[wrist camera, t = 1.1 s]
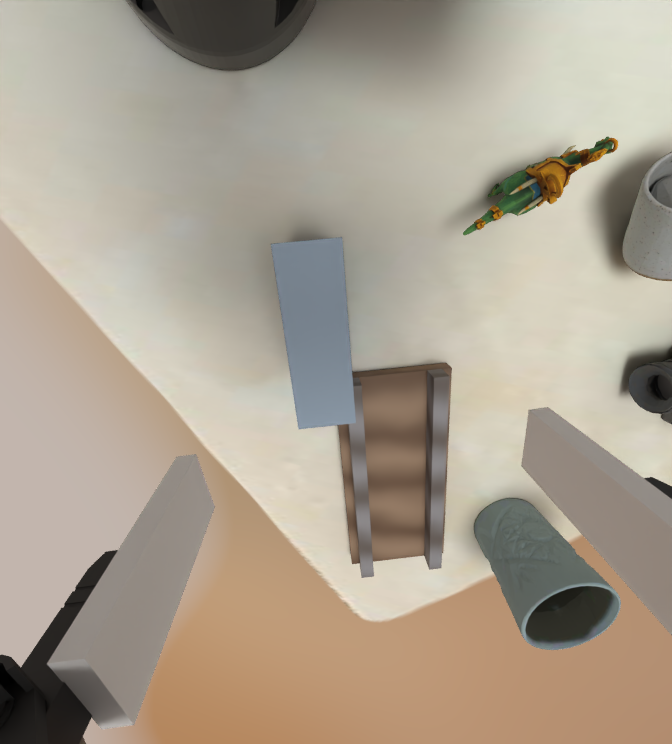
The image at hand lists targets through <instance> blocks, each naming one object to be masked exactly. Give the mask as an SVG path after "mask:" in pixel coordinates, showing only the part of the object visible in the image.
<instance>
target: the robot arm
mask: <svg viewBox="0 0 672 744" xmlns="http://www.w3.org/2000/svg"><path fill="white" fill-rule="evenodd" d="M126 1H127V2H128V4H129V5H130V6H131V8H132V9H133V10H134V12H135V13H136V14H137V16H138V17H139V18H140V19H141V21H142V22H143V23H144V24H145V25H146V26H147V27H148V29H149V30H150V31H151V32H152V33H153V34H154V35H155V36H156V37H157V38H158V39H160V40H161V41H162V42H163V43H164V44H166V45H167V46H168V47H169V48H171V49H172V50H174V51H175V52H177V53H178V54H180V55H181V56H183V57H185V58H187V59H189V60H191V61H193V62H196V63H198V64H201V65H204V66H207V67H211V68H216V69H225V70H236V69H244V68H249V67H253V66H256V65H259V64H261V63H263V62H265V61H267V60H269V59H271V58H273V57H274V56H275V55H277V54H278V53H280V52H281V51H282V50H283V49H285V48H286V47H287V46H288V45H289V44H290V43H291V42H292V40H293V39H294V38H295V37H296V36H297V34H298V33H299V32H300V30H301V29H302V27H303V26H304V24H305V23H306V21H307V19H308V17H309V15H310V14H311V11H312V9H313V7H314V5H315V2H316V0H126ZM521 466H522V467H523V468H524V470H525V471H526V472H527V473H528V474H529V475H530V476H531V477H532V479H533V480H534V481H535V482H536V483H537V484H538V485H539V486H540V488H541V489H542V490H543V491H544V492H545V493H546V494H547V495H548V497H549V498H550V499H551V500H552V501H553V502H554V503H555V504H556V506H557V507H558V508H559V509H560V510H561V511H562V512H563V513H564V515H565V516H566V517H567V518H568V519H569V520H570V521H571V522H572V524H573V525H574V526H575V527H576V528H577V529H578V530H579V531H580V533H581V534H582V535H583V536H584V537H585V538H586V539H587V540H588V541H589V543H590V544H591V545H592V546H593V547H594V548H595V549H596V551H597V552H598V553H599V554H600V555H601V556H602V557H603V558H604V560H605V561H606V562H607V563H608V564H609V565H610V566H611V567H612V568H613V570H614V571H615V572H616V573H617V574H618V575H619V576H620V578H621V579H622V580H623V581H624V582H625V583H626V584H627V585H628V586H629V588H630V589H631V590H632V591H633V592H634V593H635V594H636V595H637V597H638V598H639V599H640V600H641V601H642V602H643V603H644V605H645V606H646V607H647V608H648V609H649V610H650V611H651V612H652V614H653V615H654V616H655V617H656V618H657V619H658V620H659V621H660V623H661V624H662V625H663V626H664V627H665V628H666V629H667V630H668V632H669V633H670V634H671V635H672V486H670V485H667V484H665V483H663V482H661V481H659V480H657V479H655V478H653V477H650V478H643V477H641V476H640V475H639V474H637V473H636V472H634V471H633V470H632V469H630V468H629V467H628V466H626V465H625V464H624V463H622V462H621V461H620V460H618V459H617V458H616V457H614V456H613V455H612V454H610V453H609V452H608V451H606V450H605V449H604V448H602V447H601V446H599V445H598V444H597V443H595V442H594V441H593V440H591V439H590V438H589V437H587V436H586V435H585V434H583V433H582V432H581V431H579V430H578V429H577V428H575V427H574V426H573V425H571V424H570V423H569V422H567V421H566V420H564V419H563V418H562V417H560V416H559V415H558V414H556V413H555V412H554V411H552V410H551V409H550V408H548V407H547V408H540V409H532V410H529V413H528V421H527V428H526V436H525V443H524V450H523V458H522V465H521ZM214 508H215V506H214V504H213V500H212V498H211V495H210V492H209V489H208V486H207V483H206V481H205V478H204V475H203V472H202V469H201V467H200V464H199V461H198V458H197V455H196V454H194V455H186V456H179V457H176V459H175V460H174V462H173V463H172V465H171V467H170V468H169V470H168V471H167V473H166V475H165V476H164V478H163V479H162V481H161V483H160V484H159V486H158V487H157V489H156V491H155V492H154V494H153V495H152V497H151V498H150V500H149V502H148V503H147V505H146V507H145V508H144V510H143V511H142V513H141V514H140V516H139V518H138V519H137V521H136V522H135V524H134V526H133V527H132V529H131V530H130V532H129V534H128V535H127V537H126V538H125V540H124V542H123V543H122V545H121V546H120V548H119V550H116V551H108V552H105V554H103V555H102V556H101V557H100V558H99V559H98V560H97V561H96V562H95V563H94V564H93V565H92V566H91V567H90V568H89V569H88V570H87V572H86V573H85V575H84V576H83V577H82V579H81V580H80V582H79V583H78V585H77V586H76V590H75V591H74V592H72V593H71V595H70V596H69V598H68V599H67V601H66V602H65V606H64V608H61V610H60V611H59V613H58V614H57V615H56V617H55V618H54V620H53V621H52V623H51V624H50V626H49V628H48V629H47V630H46V632H45V633H44V635H43V636H42V637H41V639H40V640H39V642H38V644H37V645H36V646H35V648H34V649H33V651H32V652H31V654H30V655H29V657H28V658H27V660H26V661H25V662H24V664H23V665H22V667H21V668H20V666H19V665H18V664H17V663H16V662H15V661H14V660H13V659H12V658H11V657H9V656H5V655H0V744H86V743H85V741H84V738H83V734H84V732H85V730H86V728H87V726H88V724H89V721H90V719H91V717H92V718H93V720H94V721H95V722H96V723H97V724H98V726H99V727H100V728H101V729H108V728H116V727H123V726H130V725H134V724H135V721H136V719H137V716H138V713H139V710H140V708H141V705H142V702H143V700H144V697H145V694H146V691H147V689H148V686H149V684H150V681H151V678H152V675H153V673H154V670H155V667H156V665H157V662H158V659H159V657H160V654H161V651H162V649H163V646H164V643H165V640H166V638H167V635H168V632H169V630H170V627H171V624H172V622H173V618H174V616H175V613H176V611H177V608H178V605H179V603H180V600H181V597H182V595H183V592H184V589H185V586H186V584H187V581H188V578H189V576H190V573H191V570H192V568H193V565H194V562H195V559H196V556H197V554H198V551H199V548H200V546H201V543H202V541H203V538H204V535H205V532H206V530H207V527H208V524H209V521H210V519H211V516H212V513H213V511H214Z"/></svg>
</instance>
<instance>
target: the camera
mask: <svg viewBox="0 0 672 744" xmlns="http://www.w3.org/2000/svg"><path fill="white" fill-rule="evenodd" d="M629 390H630V394H631V396H632V398H633V399H634V401H635V402H636V403H637V404H638V405H639V406H640V407H641V408H643V409H645V410H646V411H649V412H652V413H659V414H663V415H662V419H663V420H664V421H666V422H668V423H670V424H672V359H669V360H666V361H662V362H658V363H657V362H655V363H648V364H645V365H642V366H640V367H638V368H637V369H635V371H634V372H633V373H632V374H631V376H630V379H629Z"/></svg>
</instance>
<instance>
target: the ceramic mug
mask: <svg viewBox="0 0 672 744" xmlns="http://www.w3.org/2000/svg"><path fill="white" fill-rule="evenodd" d="M623 258H624V260H625V263H626V264H627V265H628V266H629V268H631V269H632V270H633V271H634V272H636V273H637V274H639V275H641V276H644V277H646V278H651V279H655V280H662V281H672V152H670V153H668V154H667V155H665V156H663V157H662V158H661V159H659V160H658V161H657V162H656V163H654V164H653V165H652V166H651V167H650V169H649V170H648V171H647V173H646V174H645V176H644V178H643V180H642V183H641V186H640V189H639V193H638V196H637V199H636V202H635V205H634V208H633V211H632V215H631V218H630V222H629V225H628V227H627V230H626V233H625V236H624V241H623Z"/></svg>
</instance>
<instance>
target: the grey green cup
mask: <svg viewBox="0 0 672 744" xmlns="http://www.w3.org/2000/svg"><path fill="white" fill-rule="evenodd" d="M474 531H475V536H476V538H477V541H478V543H479V545H480V547H481V549H482V551H483V553H484V555H485V557H486V558H487V559H488V561H489V562H490V565H491V568H492V571H493V572H494V574H495V576H496V577H497V580H498V582H499V584H500V586H501V589H502V593H503V594H504V597H505V598H506V601H507V603H508V605H509V607H510V609H511V611H512V614H513V616H514V618H515V621H516V623H517V625H518V627H519V629H520V632H521V634H522V636H523V638H524V639H525V640H526V641H527V643H529V644H531V645H532V646H534V647H537V648H540V649H547V650H558V649H565V648H571V647H574V646H577V645H580V644H583V643H585V642H587V641H590V640H591V639H593V638H595V637H597V636H598V635H600V634H601V633H602V632H604V631H605V630H606V629H607V628H608V627H609V626H610V625H611V624H612V623H613V621H614V620H615V619H616V617H617V615H618V613H619V610H620V605H621V602H620V597H619V595H618V594H617V592H616V591H615V590H614V589H613V588H612V587H611V586H610V585H609V584H608V583H607V582H606V581H605V580H604V579H603V578H602V577H601V576H600V575H599V574H598V573H597V572H596V571H595V570H594V569H593V568H592V567H591V566H589V565H588V564H587V563H586V562H585V560H584V559H583V558H582V557H580V556H579V555H577V554H576V552H575V549H573V548H572V546H571V545H570V544H569V543H568V542H567V541H566V540H565V539H564V538H563V537H562V536H561V535H560V533H559V532H558V531H557V530H555V529H554V528H553V527H552V526H551V524H550V523H549V522H548V521H547V520H546V519H545V518H544V517H543V516H542V515H541V514H540V513H539V512H538V510H537V509H536V508H535V507H534V506H533V505H531V504H530V503H528V502H526V501H524V500H521V499H515V498H507V499H503V500H499V501H497V502H494V503H492V504H490V505H489V506H487V507H486V508H485V509H484V510H483V511H482V512H481V513H480V514H479V516H478V517H477V519H476V521H475V525H474Z"/></svg>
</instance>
